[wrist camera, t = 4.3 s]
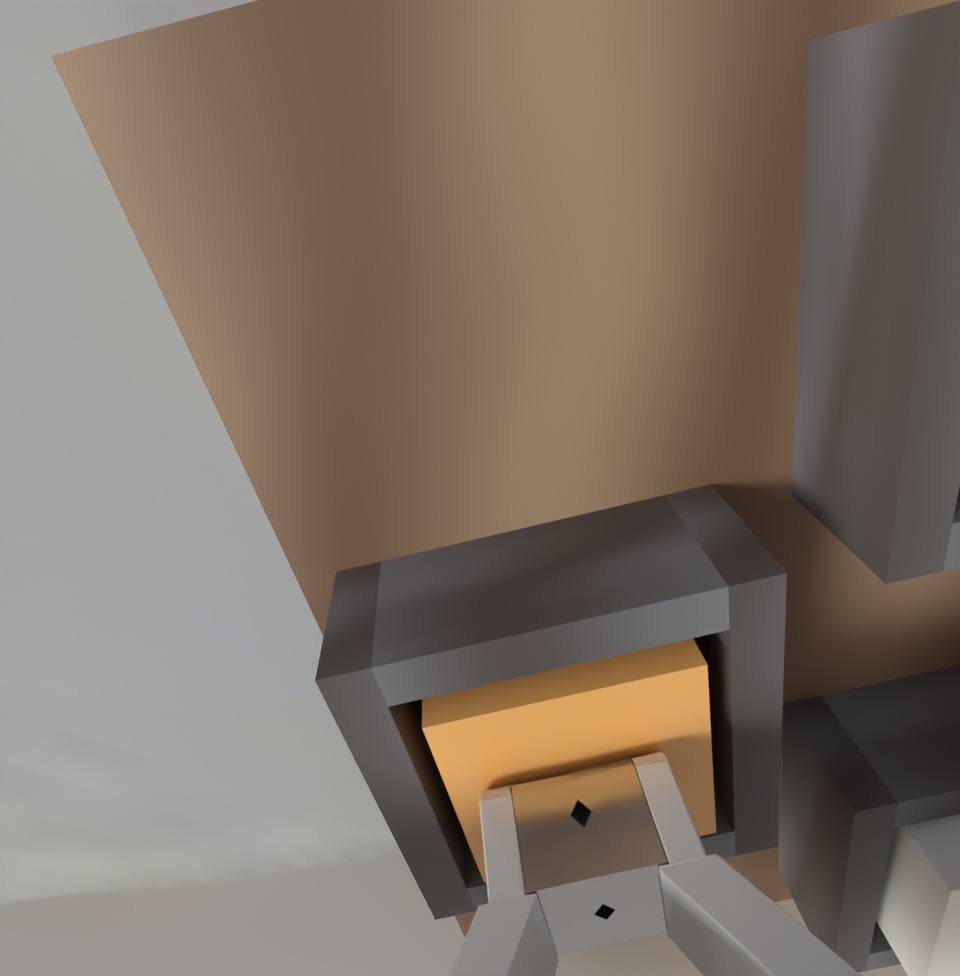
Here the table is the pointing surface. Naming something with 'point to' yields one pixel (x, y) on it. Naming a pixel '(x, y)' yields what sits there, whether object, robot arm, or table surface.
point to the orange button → (576, 728)
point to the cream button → (923, 897)
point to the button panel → (589, 375)
